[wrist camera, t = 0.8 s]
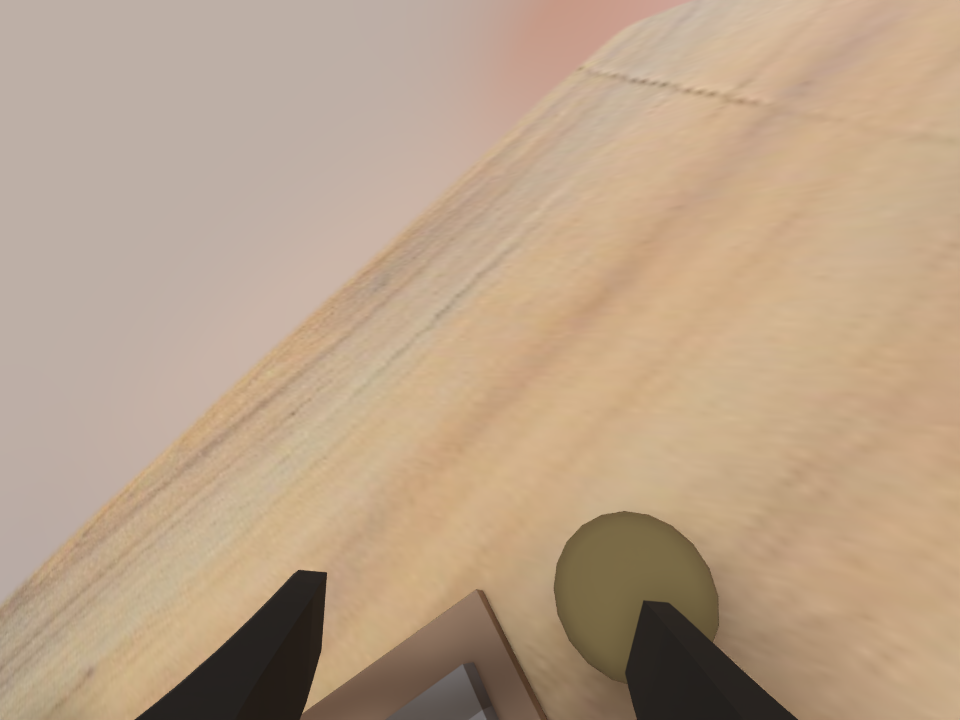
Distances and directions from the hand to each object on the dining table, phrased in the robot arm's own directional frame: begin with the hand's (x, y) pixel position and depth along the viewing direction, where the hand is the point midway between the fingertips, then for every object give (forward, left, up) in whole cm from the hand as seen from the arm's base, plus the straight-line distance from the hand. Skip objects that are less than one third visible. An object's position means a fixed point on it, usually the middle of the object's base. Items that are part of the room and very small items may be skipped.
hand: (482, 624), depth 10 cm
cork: (-1, -3, -16) cm, 17 cm away
